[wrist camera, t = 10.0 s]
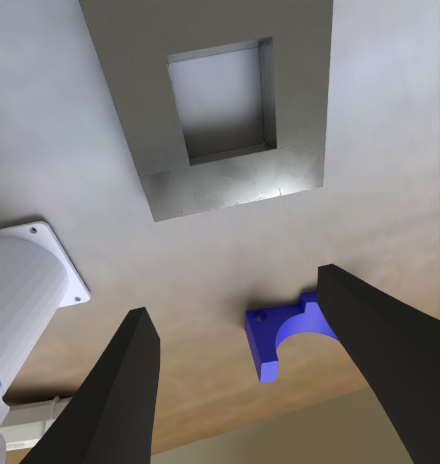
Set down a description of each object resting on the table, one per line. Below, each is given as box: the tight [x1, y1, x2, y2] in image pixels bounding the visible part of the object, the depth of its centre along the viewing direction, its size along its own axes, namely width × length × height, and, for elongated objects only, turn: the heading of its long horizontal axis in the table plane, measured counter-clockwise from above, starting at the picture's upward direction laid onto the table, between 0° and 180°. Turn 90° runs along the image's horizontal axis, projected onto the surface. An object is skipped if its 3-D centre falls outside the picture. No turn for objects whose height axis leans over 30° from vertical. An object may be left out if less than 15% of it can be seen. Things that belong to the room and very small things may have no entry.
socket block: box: [79, 0, 333, 222], centre depth 14 cm, size 12×12×2 cm
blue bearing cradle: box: [245, 292, 339, 383], centre depth 24 cm, size 12×4×6 cm, turn 92°
